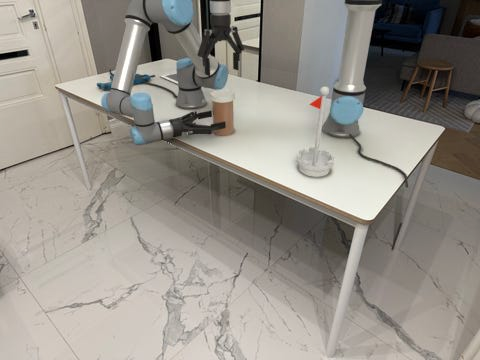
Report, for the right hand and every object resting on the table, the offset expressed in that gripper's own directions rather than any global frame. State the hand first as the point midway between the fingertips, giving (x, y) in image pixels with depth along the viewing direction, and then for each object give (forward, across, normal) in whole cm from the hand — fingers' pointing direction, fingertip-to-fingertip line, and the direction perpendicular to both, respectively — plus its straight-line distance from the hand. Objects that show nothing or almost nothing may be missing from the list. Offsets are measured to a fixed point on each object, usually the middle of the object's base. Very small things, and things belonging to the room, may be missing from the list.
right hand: (222, 72), depth 136 cm
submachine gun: (+26, +10, -94) cm, 98 cm away
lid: (+9, 0, 0) cm, 9 cm away
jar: (+26, 0, 0) cm, 26 cm away
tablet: (+26, -23, -78) cm, 85 cm away
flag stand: (+25, -8, +47) cm, 54 cm away
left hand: (+19, +3, 0) cm, 19 cm away
